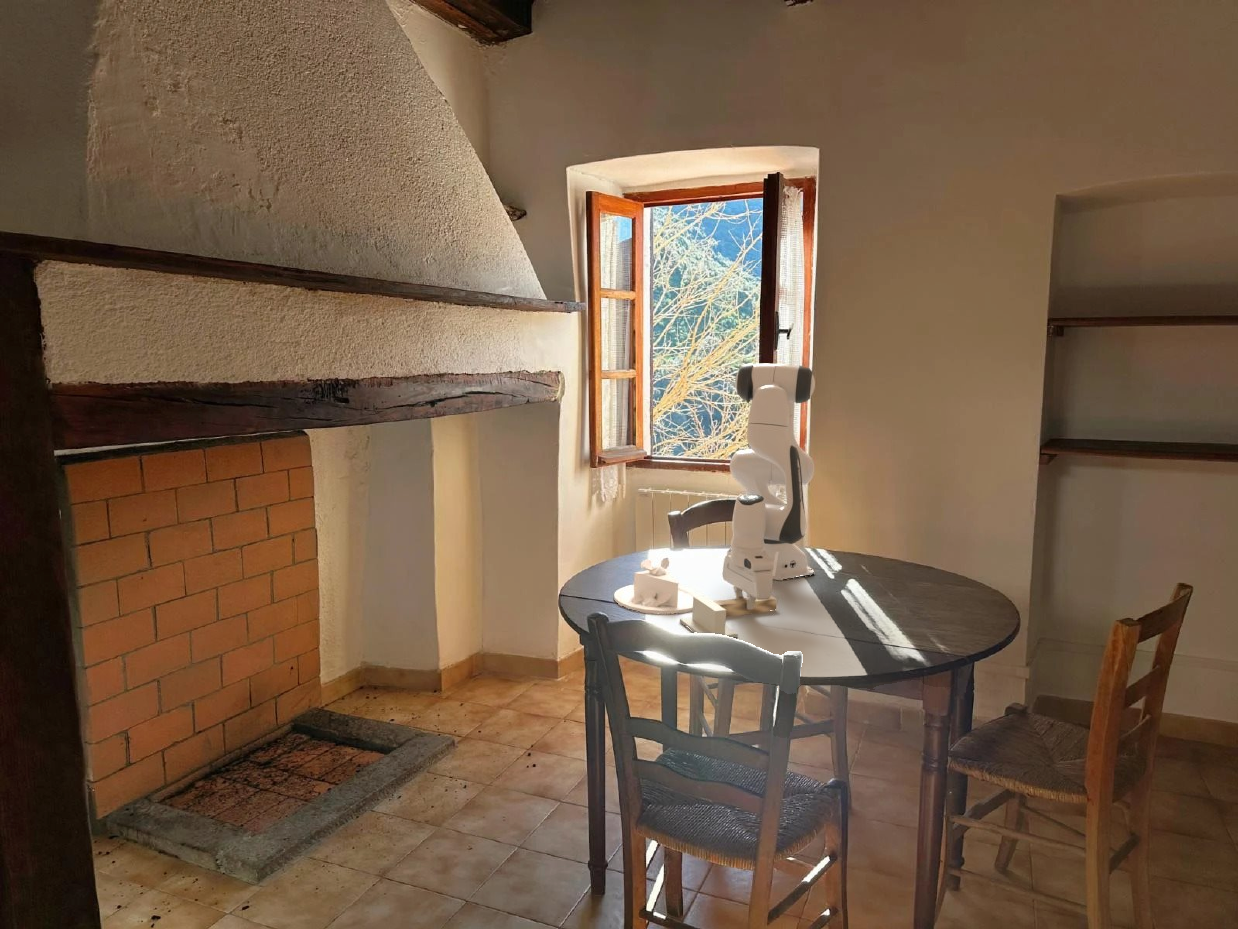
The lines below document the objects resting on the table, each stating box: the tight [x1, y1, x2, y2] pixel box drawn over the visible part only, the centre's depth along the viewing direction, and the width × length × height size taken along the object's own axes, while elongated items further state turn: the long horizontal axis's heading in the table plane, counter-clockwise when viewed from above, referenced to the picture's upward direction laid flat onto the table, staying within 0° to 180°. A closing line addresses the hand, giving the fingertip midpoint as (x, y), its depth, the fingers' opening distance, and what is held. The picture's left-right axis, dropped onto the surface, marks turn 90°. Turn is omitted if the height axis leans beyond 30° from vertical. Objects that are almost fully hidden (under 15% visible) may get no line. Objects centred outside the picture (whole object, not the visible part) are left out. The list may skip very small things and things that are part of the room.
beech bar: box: [712, 595, 778, 617], centre depth 221 cm, size 18×4×4 cm, turn 112°
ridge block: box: [679, 595, 739, 639], centre depth 206 cm, size 9×14×7 cm, turn 21°
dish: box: [613, 557, 703, 615], centre depth 229 cm, size 25×25×11 cm
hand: (744, 606), depth 221 cm, fingers closed on beech bar, 3 cm apart
